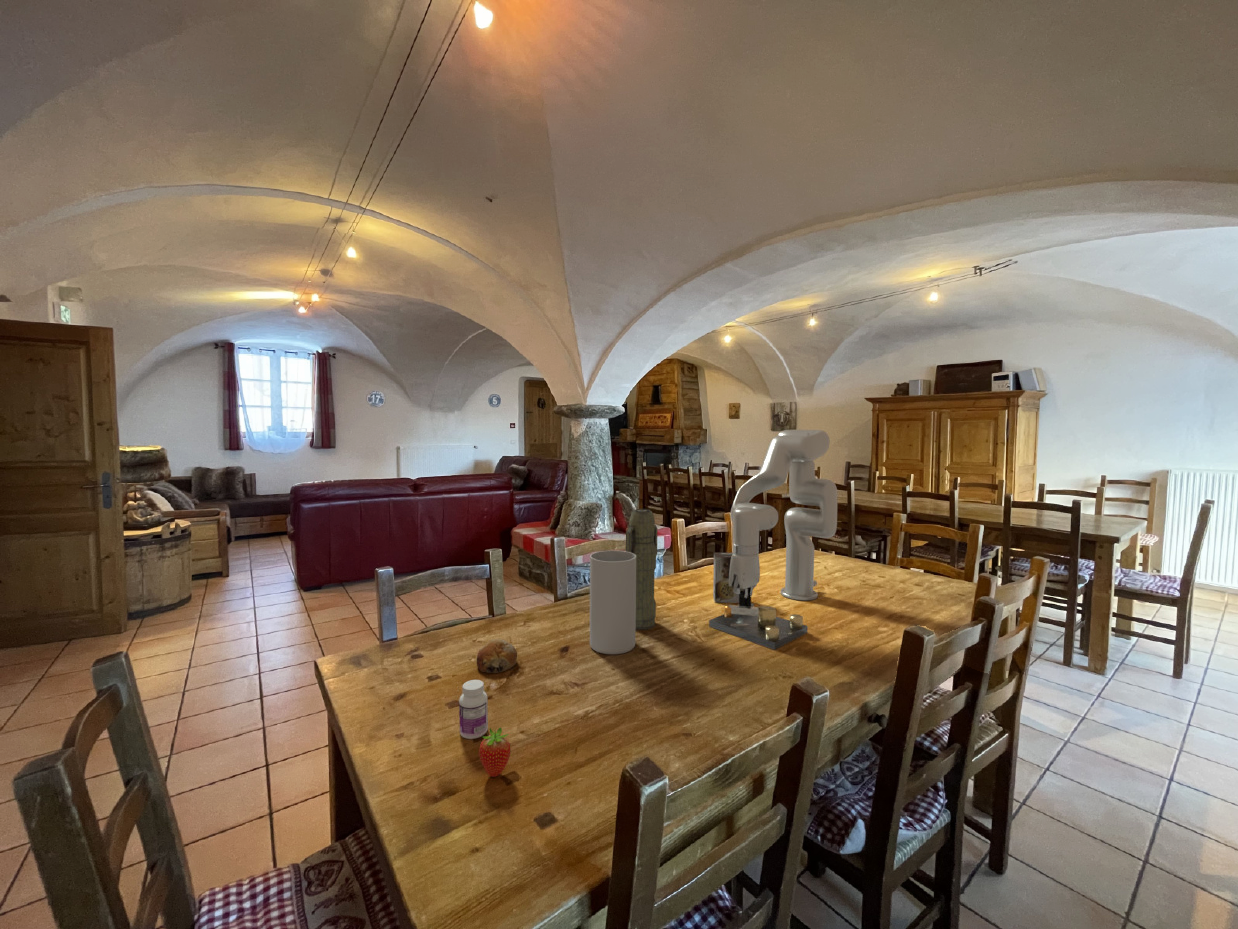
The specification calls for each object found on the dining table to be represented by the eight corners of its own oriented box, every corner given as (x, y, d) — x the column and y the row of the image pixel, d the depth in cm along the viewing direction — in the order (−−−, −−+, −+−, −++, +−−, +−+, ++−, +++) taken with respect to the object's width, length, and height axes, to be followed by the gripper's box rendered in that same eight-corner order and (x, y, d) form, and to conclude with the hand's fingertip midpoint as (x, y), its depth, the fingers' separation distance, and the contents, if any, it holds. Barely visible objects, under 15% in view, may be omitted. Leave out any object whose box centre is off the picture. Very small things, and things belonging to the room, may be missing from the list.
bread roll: (520, 676, 131) (527, 643, 134) (501, 676, 122) (508, 640, 125) (487, 670, 135) (494, 638, 137) (465, 669, 126) (473, 635, 128)
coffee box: (738, 597, 183) (739, 552, 182) (741, 603, 176) (742, 557, 175) (712, 596, 184) (713, 551, 182) (714, 602, 177) (715, 556, 176)
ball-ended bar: (775, 623, 153) (775, 606, 153) (776, 629, 148) (776, 612, 148) (724, 618, 157) (724, 602, 156) (723, 624, 152) (724, 608, 151)
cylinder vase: (642, 641, 145) (643, 553, 143) (623, 659, 133) (624, 564, 132) (602, 633, 150) (602, 548, 148) (581, 650, 138) (581, 558, 137)
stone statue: (664, 622, 159) (665, 509, 156) (640, 633, 150) (641, 514, 148) (641, 615, 165) (643, 506, 162) (617, 625, 156) (618, 510, 153)
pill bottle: (462, 724, 104) (462, 678, 103) (489, 723, 104) (489, 677, 103) (456, 740, 98) (456, 691, 98) (485, 739, 99) (484, 690, 98)
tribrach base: (743, 612, 168) (743, 597, 167) (807, 632, 152) (807, 616, 151) (709, 626, 156) (709, 610, 155) (774, 650, 140) (774, 632, 139)
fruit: (473, 780, 87) (472, 734, 87) (491, 761, 92) (490, 718, 92) (500, 788, 85) (499, 741, 85) (517, 769, 90) (516, 725, 90)
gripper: (748, 542, 161) (748, 599, 163) (720, 551, 151) (719, 612, 153) (770, 547, 156) (769, 606, 158) (742, 556, 146) (741, 619, 147)
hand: (744, 609), depth 155 cm, fingers closed
